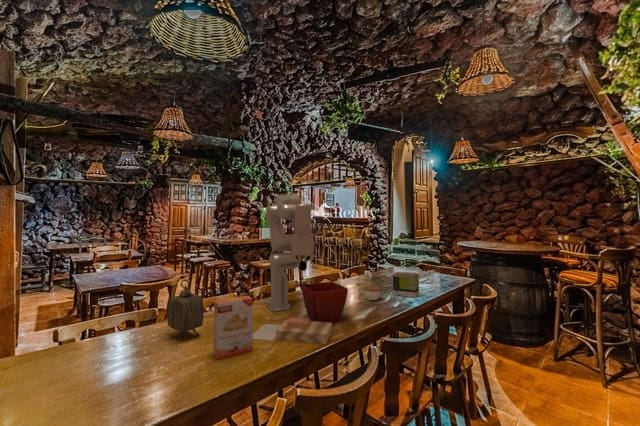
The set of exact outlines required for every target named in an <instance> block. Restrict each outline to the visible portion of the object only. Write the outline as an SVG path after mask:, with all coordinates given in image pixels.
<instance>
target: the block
mask: <svg viewBox="0 0 640 426" xmlns="http://www.w3.org/2000/svg"><path fill="white" fill-rule="evenodd" d="M310 321H311V318H306V317H305V318H304V317H303V318H302V317H289V319H288V321H287V328H298V329H307V328H308V326H309V325H310Z"/></svg>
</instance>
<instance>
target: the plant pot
mask: <svg viewBox="0 0 640 426" xmlns="http://www.w3.org/2000/svg"><path fill="white" fill-rule="evenodd" d="M300 286H301V294H302V299H303V302H304V304H303V305H304V307H305V311H306V313H307V316H308V318H309V319H310V320H311V321H315V322H328V323H335V322H339V321H340V320H341V317H342V314H343V312H344V308H345V307H346V301H347V298H348V297H347V296H348V292H349V289H348V287H345V286H343V285H341V284H339V283H336V282H335V281H328V282H327V281H325V282H323V281H322V282H312V283H302V284H301V285H300Z"/></svg>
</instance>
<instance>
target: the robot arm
mask: <svg viewBox="0 0 640 426" xmlns="http://www.w3.org/2000/svg"><path fill="white" fill-rule="evenodd" d="M265 220H266V222H267V225H268V228H269V235H270V236H269V237H270V248H271V249H272V251H274V252H277V253H273V254H272V255H271V256H270V257H269V267H270V281H271V283H270V289H271V291H270V293H271V294H270V296H271V297H270V298H271V299H265V300H264V304H267V305H268V309H269V310H270V311H274V312H280V311H281V312H282V311H287V310H289V309H291V304H290V303H289V299H288V296H289V295H288V294H289V290H288V289H289V288H288V287H289V286H288V283H289V281H288V279H289V278H288V275H287V273H286V272H285V270H294V269H295V270H296V269H297V268H298V269H300V272H305V271H307V269H308V263H307V262H308V261H309V260H311V259H313V258H315V257H316V256H315V240H314V235H313V233H312V206H311V205H310V204H309V203H302V199H301V197H300V196H299V195H298V194H279V195H277V196H276V198H275V200H274V204H273V205H268V206H267V207H266V208H265ZM279 220H284V221H289V220H290V221H294V227H292V228H291V231H292V232H294V233H292V234H286V233H285V227H284V225H283V223H282V222H281V221H279ZM279 252H280V253H279Z"/></svg>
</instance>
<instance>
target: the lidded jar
mask: <svg viewBox="0 0 640 426" xmlns="http://www.w3.org/2000/svg"><path fill="white" fill-rule="evenodd" d="M363 296H364V298H365V299H366V300H367V299H368V300H376V301H378V299H380V296H381V287H380V286H378V285H373V284H371V285H365V286H363ZM368 300H367V301H368Z"/></svg>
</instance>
